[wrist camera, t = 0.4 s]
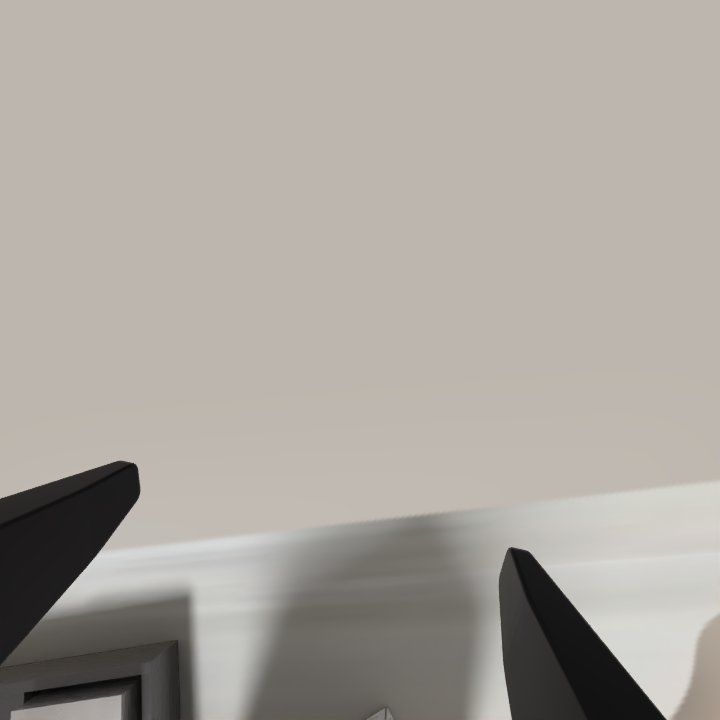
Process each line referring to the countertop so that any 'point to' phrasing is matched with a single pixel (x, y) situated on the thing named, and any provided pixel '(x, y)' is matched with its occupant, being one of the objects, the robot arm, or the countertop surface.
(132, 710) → the two-slot holder tray
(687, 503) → the countertop surface
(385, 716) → the light bulb box
